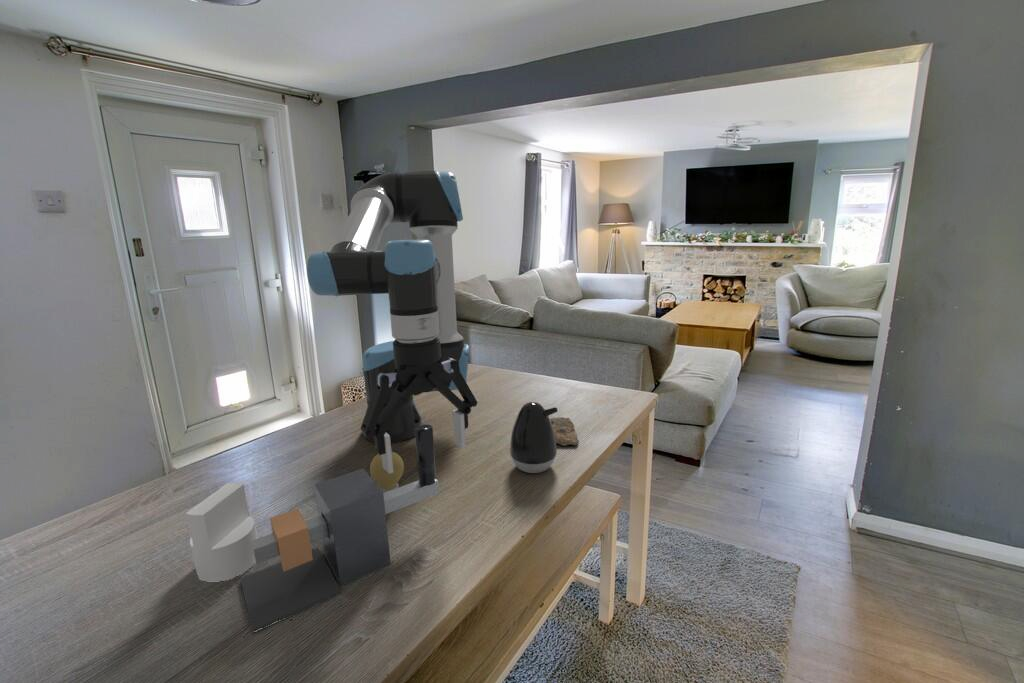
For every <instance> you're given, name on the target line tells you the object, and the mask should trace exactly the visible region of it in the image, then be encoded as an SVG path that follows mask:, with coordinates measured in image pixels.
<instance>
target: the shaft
mask: <svg viewBox="0 0 1024 683" xmlns="http://www.w3.org/2000/svg"><path fill="white" fill-rule="evenodd" d="M414 439H415V450H416V459H417V460H416V462H417V473H418V474H417V475H418V480H416V481H414V482H409V483H408V484H404V485H402V486H399V488H396V489H393V490H391V491H388V492H385V493H383V495H384V504H385V514H386V515H387V514H390V513H392V512H394V511H398V510H400V509H402V508H405V507H408V506H411V505H413V504H415V503H418V502H420V501H424V500H426V499H429V498H431V497H434V496H436V495H438V494H440V493H441V492H440V482H439V480H438V479H437V470H436V469H437V468H436V456H435V443H434V431H433V426H432V425H431V424H422V425H419V426H417V427H416V428H415V436H414ZM304 521H305V523H306V525H307V527H308V531H309V538H310V544H312V543H315V542H318V541H320V540H322V539H323V538H326V537H328V536H329V529H328V522H327V520H326V518H325V516H324V515H321V516H315V517H313V518H311V519H308V520H304ZM257 538H258V539H255V540H252V541H251V543H252V548H253V553H254V557H255V561H256V564H255V565H259V564H261V563H263V562H266V561H269V560H271V559H274V558H276V557H280V553H279V547H278V542H277V540H276V537H275V535H274V533H270V534H266V535H263V536H261V537H257Z"/></svg>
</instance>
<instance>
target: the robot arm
mask: <svg viewBox="0 0 1024 683" xmlns="http://www.w3.org/2000/svg"><path fill="white" fill-rule="evenodd" d="M463 216H464V215H463V211H462V204H461V199H460V193H459V188H458V184H457V177H456V176H455V175H454V173H452V172H450V171H441V170H426V171H401V172H400V171H398V172H397V171H391V172H385V173H383V174H380V175H378V176H376V177H373V178H371V179H370V180H368V181H367V182H366V183H363V184H362V185H361V186H360V187H359V188H358V189H357V190H356V192H354V194H353V197H352V199H351V201H350V212H349V215H348V217H347V219H346V220H345V222H344V224H343V226H342V228H341V230H340V232H339V234H338V236H337V238H336V240H335V242H334V244H333V246H332V248H331V249H330V251H325V250H323V251H321V252H314V253H312V254H310V255H309V257H308V259H307V263H306V274H307V275H306V277H307V281H308V284H309V286H310V289H311V291H312V293H313V294H315V295H317V296H329V297H331V296H333V297H339V296H358V295H359V296H361V295H384V294H386V295H387V294H388V299H389V300H388V302H389V314H390V315H389V316H390V328H391V337H392V338H393V339H394V340H391V341H386V342H382V343H378V344H374V345H373V346H371V347H369V348H367V349H366V350H365V351H364V352H363V353H362V368H361V370H362V371H363V379H364V388H365V389H364V390H365V397H366V410H365V415H364V417H363V421H362V423H361V426H360V431H361V432H362V435H363V437H364V439H366V440H367V441H368V442H369V441H370V442H373V443H374V450H375V452H376V453H377V455H378V454H379V455H382V465H383V468H384V469H385V470H386V471H387V472H388V473H389V474H390V473H393V463H392V453H391V452H392V445H391V443H399V442H402V441H406V440H409V439H411V438H413V437H414V438H415V428H416V427H417V426H419V425H423V420H422V419H423V418H422V416H421V415H420V411H419V410H418V408H417V405H416V403H415V401H414V397H415V396H419V395H421V394H422V393H431V392H438V393H440V394H441V395H442V396H443V397H444V398H446V399H447V400H448V401H449V403H451V404H452V405H453V406H454V407H455V408H456V409H453V410H452V419H453V420H452V422H453V423H452V424H453V437H454V445H455V446H457V447H458V448H460V449H461V450H464V449H466V448H467V446H466V444H467V443H466V429H468V428H469V414H470V413H471V412H472V407H473V408H474V407H477V405H478V401H477V399H476V396H475V395H474V393H473V392H472V390H471V389H470V386H469V385H468V383H467V380H468V379H467V378H468V370H469V369H468V366H469V356H470V345H469V344H467V343H464V337H463V336H462V335H461V334H460V333H459V332H458V329H457V328H458V327H457V326H458V325H457V323H458V322H457V307H456V306H457V305H456V292H455V290H456V289H455V288H456V286H455V272H454V269H455V268H454V253H453V252H454V250H453V235H454V233H456V231H457V230H458V222H461V221H463V220H464V217H463ZM391 223H409V231H411V232H412V233H413V234H414V235H415V236H416V239H401V240H400V239H399V240H390V241H387V242H386V243H385V245H384V250H377V249H378V247H379V244H380V242H381V239H382V236H383V233H384V230H385V228H386V227H387V226H389V225H390V224H391ZM453 391H458V392H459V394H460V396H461V397H462V399H460V398H459V396H457V394H455V393H454V392H453Z"/></svg>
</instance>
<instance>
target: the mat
mask: <svg viewBox="0 0 1024 683" xmlns="http://www.w3.org/2000/svg"><path fill="white" fill-rule="evenodd" d="M311 551H312V557H313V560H311V561H309V562H306V563H304V564H301V565H299V566H297V567H294V568H292V569H289V570H287V571H283V568H282V565H281V561H280V562H278V563H275V564H273V565H271V566H268V567H265V568H263V569H261V570H257V571H254V572H253V573H250V574H247V575H245V576H243V577H240V583H241V588H242V592H243V596H244V600H246V601H245V605H246V609H247V612H248V617H249V621H250V625H252V626H251V629H253V630H252V633H253V632H254V631H256V630H258V629H260V628H264V627H266V626H268V625H270V624H272V623H274V622H276V621H279V620H282V619H284V618H286V619H288V618H290V617H292V616H291V615H293V614H295V615H296V613H297V614H299V613H301V612H303V611H306V610H308V609H310V608H312V607H314V606H316V605H319V604H320V603H323V602H325V601H327V600H330V599H331V598H334V597H336V596H337V595H341V589H340V588H339V585H338V584H337V581H336V580H335V577H334V576H333V574H332V572H331V569H330V568H329V566H328V564H327V562H326V560H325V558H324V556H323V554H322V553H321V550H320V548H319V547H316V548H313V549H311ZM298 612H299V613H298ZM289 616H290V617H289ZM293 616H294V615H293ZM287 617H288V618H287ZM284 620H285V619H284ZM282 621H283V620H282ZM266 628H267V627H266ZM264 629H265V628H264Z"/></svg>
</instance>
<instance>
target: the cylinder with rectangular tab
mask: <svg viewBox="0 0 1024 683" xmlns="http://www.w3.org/2000/svg"><path fill="white" fill-rule="evenodd" d="M185 515H186V519H187V525H188V529H189V533H190V539H189V545H190V550H191V554H192V558H193V562H194V566H195V571H196V575H198V576H197V578H198V577H199V578H201V579H203V580H206V581H223V580H227V579H231V578H234V577H236V576H238V577H240V576H242V575H243V574H242V573H244V572H245V571H246V570H248V569H249V568H251V567H252V566H253V565H254V564H255V563H256V561H255V557H254V553H253V548H252V543H251V541H252V540H255V539H258V538H259V537H258V533H257V528H256V522H255V520H254V517H252V516H250V512H249V507H248V500H247V494H246V489H245V484H244V483H241V482H227V483H226V484H224V485H223V486H222V487H220V488H219V489H217V490H216V491H215V492H213V493H212V494H210V495H209V496H208V497H206V498H205V499H204V500H202V501H201V502H199V503H198V504H196V505H194V507H192V508H191V509H190V510H189V511H187V512H186V513H185ZM255 565H256V564H255ZM255 565H254V566H255ZM254 566H253V567H254ZM253 567H252V568H253ZM252 568H251V569H252ZM248 571H249V570H248ZM245 573H246V572H245ZM245 573H244V574H245ZM241 574H242V575H241ZM239 575H240V576H239ZM199 578H198V579H199ZM236 578H237V577H236ZM234 579H235V578H234ZM231 580H232V579H231Z"/></svg>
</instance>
